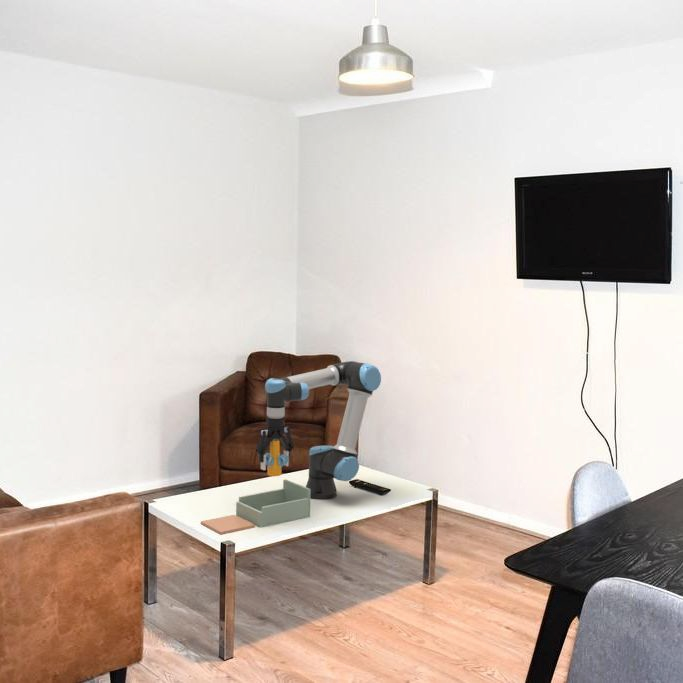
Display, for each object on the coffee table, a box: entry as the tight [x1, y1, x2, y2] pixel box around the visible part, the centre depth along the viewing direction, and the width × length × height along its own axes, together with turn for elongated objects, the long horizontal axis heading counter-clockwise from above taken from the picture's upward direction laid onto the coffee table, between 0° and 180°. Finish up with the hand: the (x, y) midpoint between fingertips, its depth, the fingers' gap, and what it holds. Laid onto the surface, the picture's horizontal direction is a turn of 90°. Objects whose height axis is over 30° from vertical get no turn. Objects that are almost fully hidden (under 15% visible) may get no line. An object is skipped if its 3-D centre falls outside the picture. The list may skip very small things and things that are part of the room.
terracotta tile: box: [200, 514, 256, 535], centre depth 335 cm, size 16×16×1 cm
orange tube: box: [265, 438, 290, 477], centre depth 347 cm, size 12×10×15 cm
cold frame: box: [235, 479, 311, 528], centre depth 348 cm, size 25×18×12 cm
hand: (274, 467), depth 347 cm, fingers closed on orange tube, 11 cm apart
